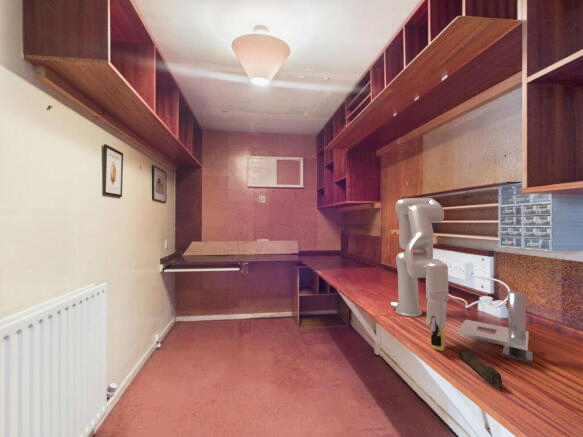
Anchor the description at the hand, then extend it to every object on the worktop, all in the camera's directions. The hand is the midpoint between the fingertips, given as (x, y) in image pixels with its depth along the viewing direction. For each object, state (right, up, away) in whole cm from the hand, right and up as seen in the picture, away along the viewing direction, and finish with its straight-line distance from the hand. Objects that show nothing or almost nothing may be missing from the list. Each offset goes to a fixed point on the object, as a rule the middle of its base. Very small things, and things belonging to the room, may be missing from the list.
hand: (437, 342), depth 106 cm
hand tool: (+5, -2, -18) cm, 18 cm away
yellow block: (0, -2, 0) cm, 2 cm away
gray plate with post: (+20, -1, -3) cm, 20 cm away
